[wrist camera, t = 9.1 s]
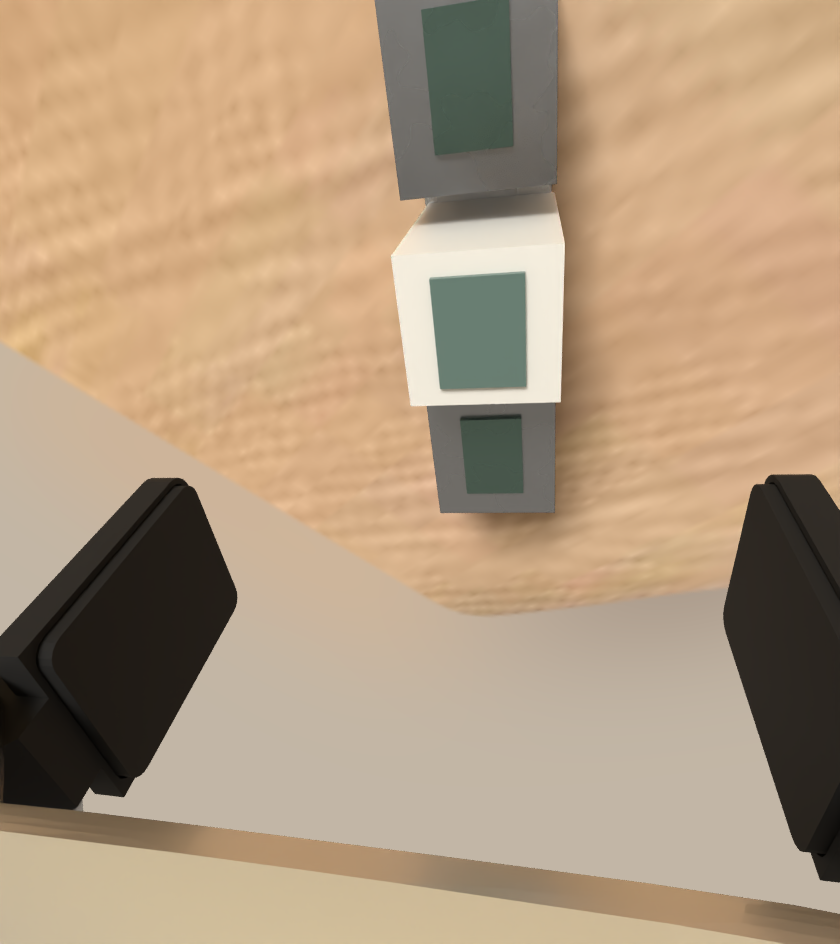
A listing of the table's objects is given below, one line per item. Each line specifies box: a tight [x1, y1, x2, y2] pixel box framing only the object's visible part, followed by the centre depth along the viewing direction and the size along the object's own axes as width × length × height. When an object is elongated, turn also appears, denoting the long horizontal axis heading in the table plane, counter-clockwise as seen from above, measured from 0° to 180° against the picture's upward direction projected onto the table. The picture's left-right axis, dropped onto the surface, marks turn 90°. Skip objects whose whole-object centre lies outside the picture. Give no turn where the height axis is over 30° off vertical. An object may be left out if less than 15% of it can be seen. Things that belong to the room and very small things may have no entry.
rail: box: [375, 0, 558, 513], centre depth 23 cm, size 5×20×6 cm, turn 7°
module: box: [391, 192, 565, 406], centre depth 22 cm, size 5×5×8 cm
